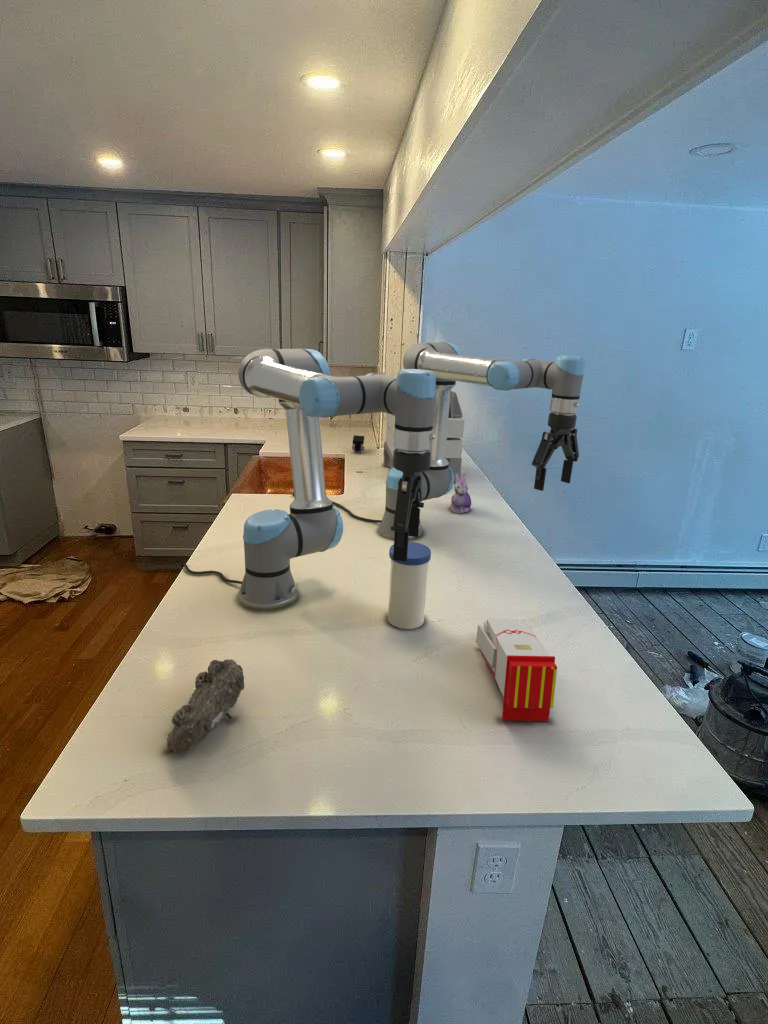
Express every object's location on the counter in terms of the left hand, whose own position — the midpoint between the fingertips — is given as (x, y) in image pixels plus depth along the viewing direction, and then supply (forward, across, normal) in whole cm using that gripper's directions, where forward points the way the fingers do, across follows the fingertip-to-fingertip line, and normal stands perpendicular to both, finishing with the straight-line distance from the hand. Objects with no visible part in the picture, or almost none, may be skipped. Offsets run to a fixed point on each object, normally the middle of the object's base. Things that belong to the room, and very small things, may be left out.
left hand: (406, 547), depth 120 cm
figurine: (+27, +106, -3) cm, 110 cm away
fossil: (+27, -30, +30) cm, 51 cm away
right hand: (-1, +56, -33) cm, 65 cm away
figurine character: (+27, +185, +61) cm, 196 cm away
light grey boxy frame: (+27, +154, +21) cm, 157 cm away
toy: (+27, -1, -24) cm, 37 cm away
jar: (+27, +17, +2) cm, 32 cm away
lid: (+8, +17, +2) cm, 19 cm away
